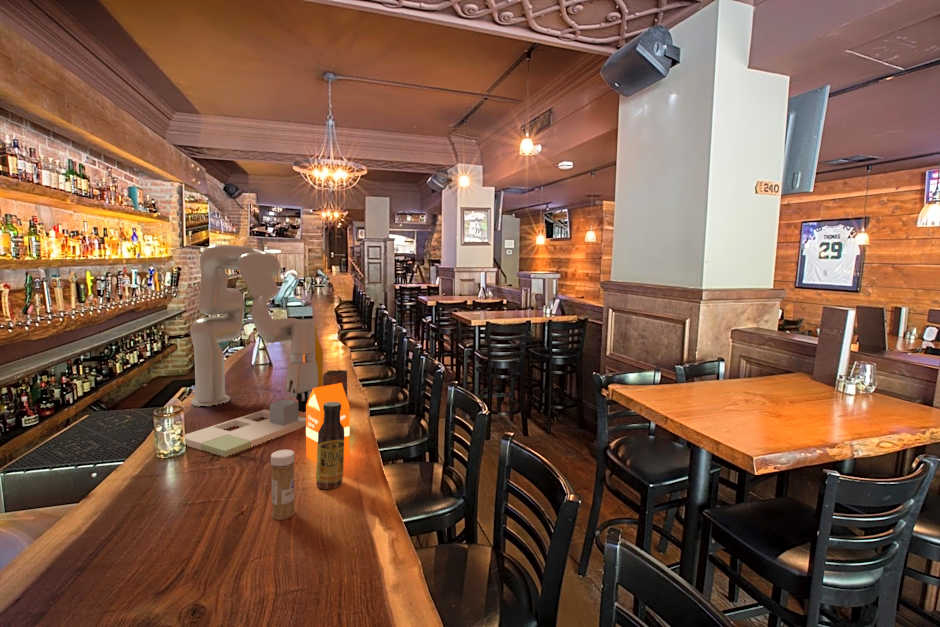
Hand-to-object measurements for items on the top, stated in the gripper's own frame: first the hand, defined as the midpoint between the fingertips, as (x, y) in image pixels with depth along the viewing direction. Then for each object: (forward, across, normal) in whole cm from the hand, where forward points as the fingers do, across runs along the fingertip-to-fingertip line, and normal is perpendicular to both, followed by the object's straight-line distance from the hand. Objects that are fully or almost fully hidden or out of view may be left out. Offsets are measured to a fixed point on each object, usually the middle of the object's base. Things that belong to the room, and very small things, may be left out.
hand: (303, 411), depth 155 cm
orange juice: (+3, +19, +28) cm, 34 cm away
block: (+1, +8, 0) cm, 8 cm away
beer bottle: (+3, -22, -18) cm, 28 cm away
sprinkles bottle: (+3, +46, +41) cm, 61 cm away
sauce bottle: (+3, +31, +40) cm, 51 cm away
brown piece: (+3, +5, +18) cm, 19 cm away
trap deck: (+3, +18, -5) cm, 19 cm away
